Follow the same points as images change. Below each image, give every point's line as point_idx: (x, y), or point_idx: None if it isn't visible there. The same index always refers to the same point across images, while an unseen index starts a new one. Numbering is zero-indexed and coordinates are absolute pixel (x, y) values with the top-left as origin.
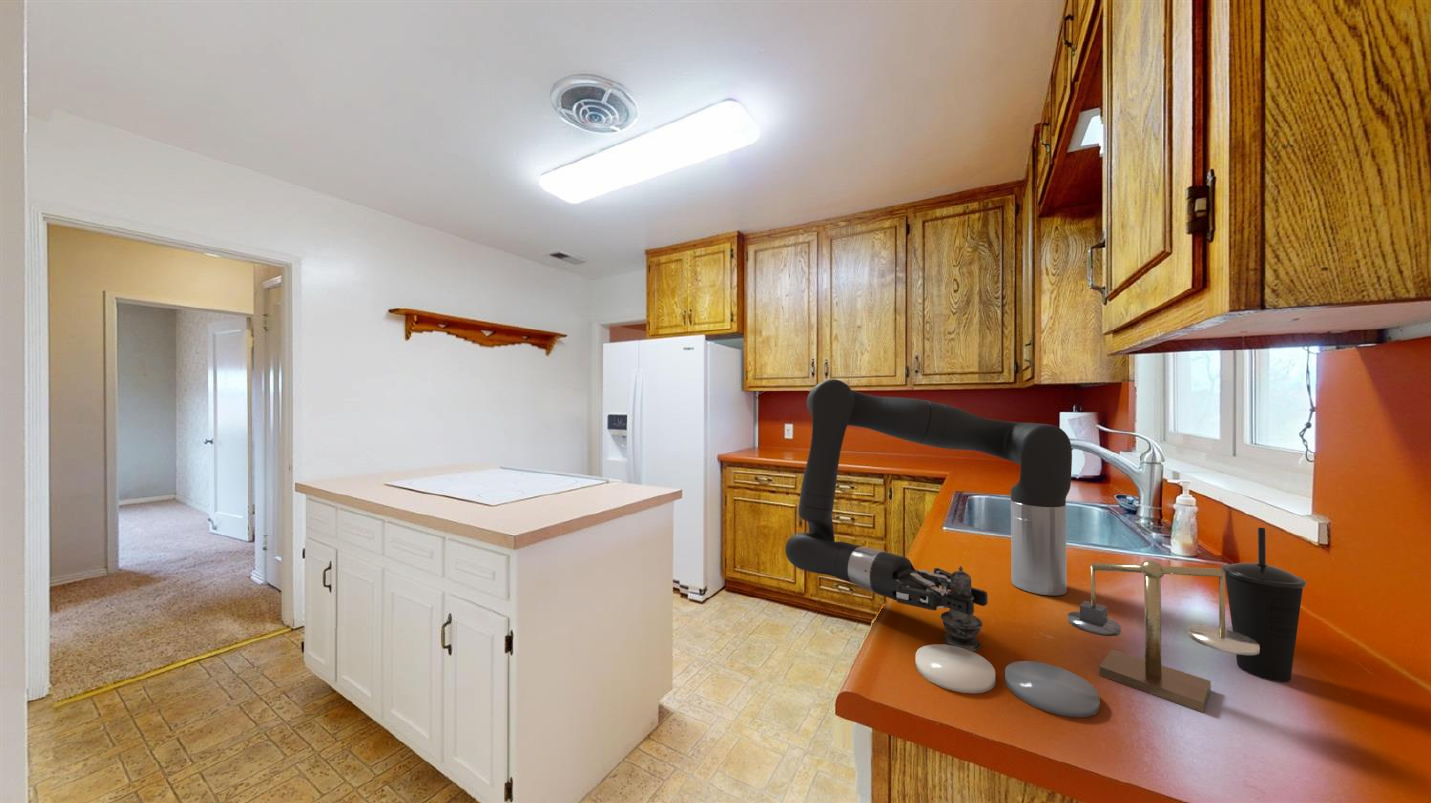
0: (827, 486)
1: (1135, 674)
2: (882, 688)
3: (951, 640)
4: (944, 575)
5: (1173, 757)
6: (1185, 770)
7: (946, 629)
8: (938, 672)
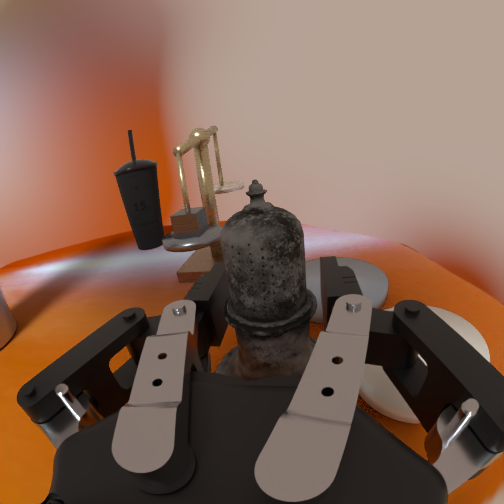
0: None
1: None
2: None
3: None
4: (147, 339)
5: (345, 243)
6: (354, 240)
7: None
8: (473, 340)
